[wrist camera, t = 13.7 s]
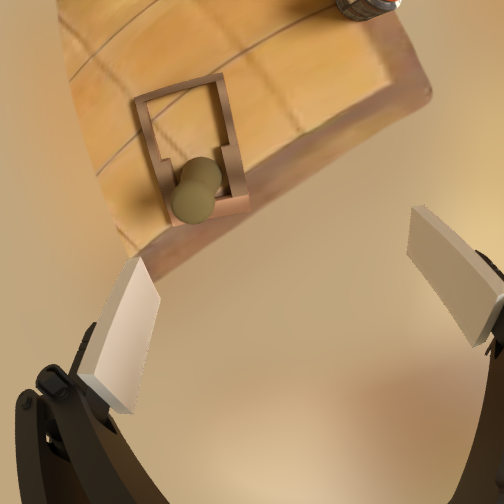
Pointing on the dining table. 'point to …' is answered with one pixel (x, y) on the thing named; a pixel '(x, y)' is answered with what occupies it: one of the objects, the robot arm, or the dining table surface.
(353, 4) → the pill bottle
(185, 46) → the dining table surface
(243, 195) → the keyhole board
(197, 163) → the olive rounded upright piece
